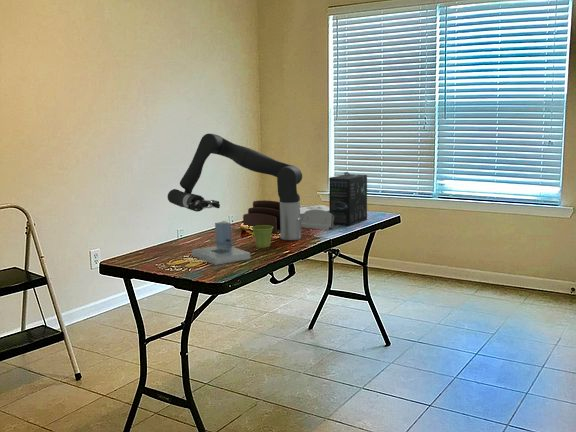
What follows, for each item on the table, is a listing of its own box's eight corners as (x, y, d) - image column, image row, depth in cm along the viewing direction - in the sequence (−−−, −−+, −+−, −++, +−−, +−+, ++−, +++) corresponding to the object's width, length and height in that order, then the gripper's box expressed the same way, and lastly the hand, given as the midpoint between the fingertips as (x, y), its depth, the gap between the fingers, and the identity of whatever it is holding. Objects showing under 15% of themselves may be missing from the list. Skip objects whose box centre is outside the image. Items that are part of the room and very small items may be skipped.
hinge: (299, 227, 320) (302, 207, 321) (303, 228, 324) (307, 209, 325) (328, 229, 311) (331, 209, 312) (333, 231, 315) (336, 211, 316)
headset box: (347, 217, 344) (347, 169, 339) (367, 219, 338) (368, 170, 333) (328, 224, 325) (327, 174, 320) (349, 226, 319) (349, 175, 314)
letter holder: (254, 226, 325) (253, 199, 322) (287, 229, 314) (286, 201, 312) (242, 229, 316) (242, 201, 314) (276, 233, 306) (275, 204, 303)
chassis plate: (191, 255, 263) (191, 249, 262) (225, 250, 272) (225, 244, 271) (215, 265, 246) (214, 258, 246) (250, 258, 255) (250, 252, 255)
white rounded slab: (269, 219, 346) (268, 210, 346) (322, 213, 360) (322, 205, 359) (283, 224, 330) (283, 215, 329) (338, 219, 343) (338, 209, 342)
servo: (215, 247, 277) (213, 220, 275) (223, 246, 279) (222, 219, 278) (226, 250, 269) (224, 222, 267) (235, 249, 271) (233, 221, 270)
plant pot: (271, 249, 272) (271, 229, 270) (250, 248, 273) (249, 229, 272) (275, 244, 281) (275, 225, 279) (254, 244, 282) (254, 225, 281)
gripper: (179, 195, 290) (195, 200, 276) (207, 193, 298) (224, 197, 284) (180, 211, 291) (196, 217, 278) (207, 208, 299) (224, 213, 286)
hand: (210, 206), depth 281 cm, fingers open, 8 cm apart
